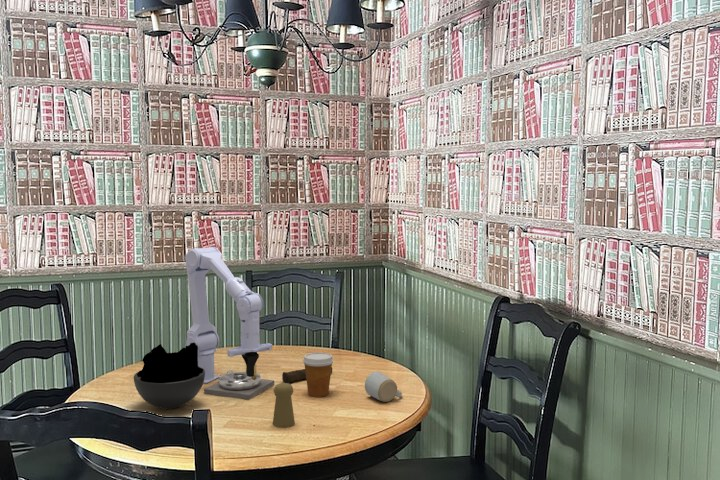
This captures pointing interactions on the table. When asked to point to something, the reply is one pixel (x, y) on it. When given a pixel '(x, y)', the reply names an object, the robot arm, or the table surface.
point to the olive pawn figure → (283, 406)
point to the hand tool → (294, 376)
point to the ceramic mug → (381, 387)
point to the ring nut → (239, 380)
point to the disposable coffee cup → (318, 373)
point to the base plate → (240, 394)
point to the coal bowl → (170, 377)
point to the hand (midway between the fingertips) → (250, 375)
